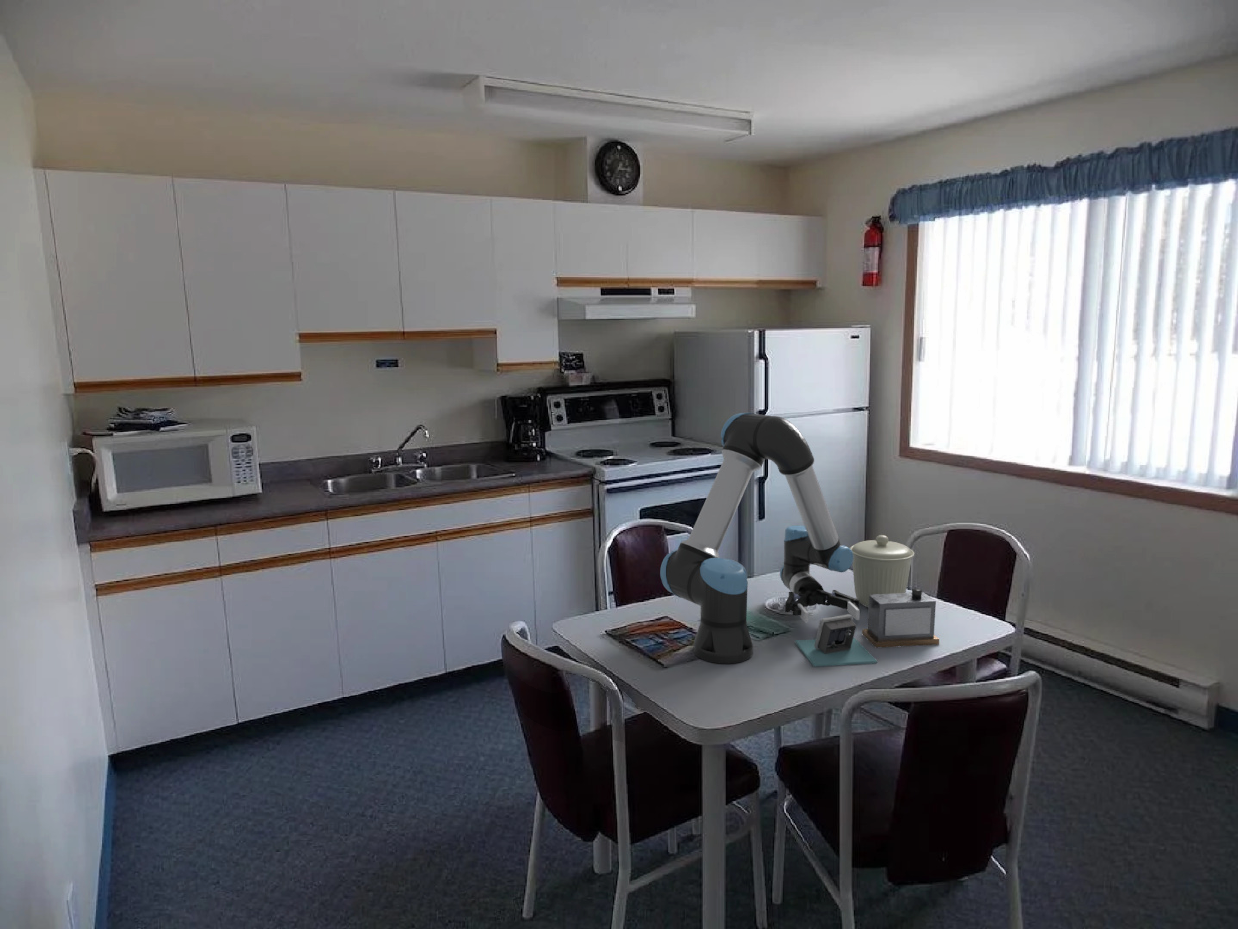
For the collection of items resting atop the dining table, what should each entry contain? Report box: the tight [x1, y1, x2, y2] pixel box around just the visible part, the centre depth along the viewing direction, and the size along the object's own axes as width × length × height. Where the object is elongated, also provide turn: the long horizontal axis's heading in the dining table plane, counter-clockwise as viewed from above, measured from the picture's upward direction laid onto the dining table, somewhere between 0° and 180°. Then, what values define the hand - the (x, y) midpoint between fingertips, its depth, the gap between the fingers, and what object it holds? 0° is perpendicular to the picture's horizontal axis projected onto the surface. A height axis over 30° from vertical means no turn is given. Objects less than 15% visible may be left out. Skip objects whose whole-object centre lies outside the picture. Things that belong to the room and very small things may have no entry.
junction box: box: [861, 587, 940, 649], centre depth 210 cm, size 17×9×14 cm, turn 95°
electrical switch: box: [814, 613, 857, 654], centre depth 203 cm, size 9×5×9 cm, turn 110°
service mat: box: [794, 637, 878, 668], centre depth 204 cm, size 16×15×1 cm
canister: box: [849, 534, 915, 608], centre depth 236 cm, size 18×18×21 cm
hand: (832, 616), depth 207 cm, fingers open, 13 cm apart
